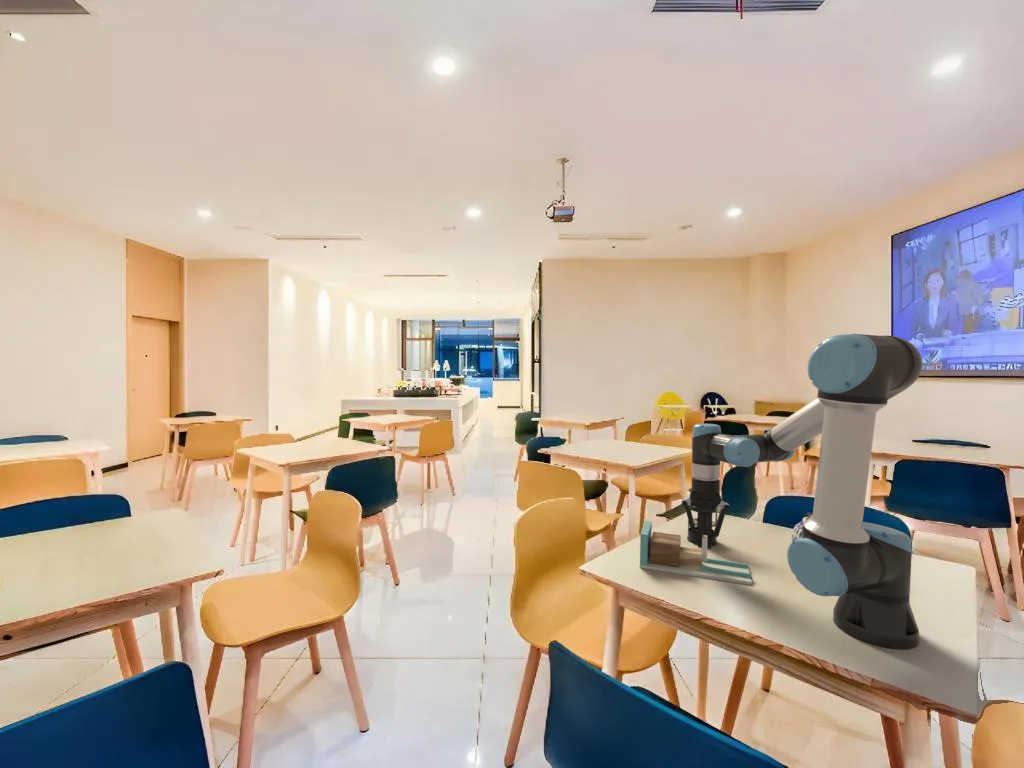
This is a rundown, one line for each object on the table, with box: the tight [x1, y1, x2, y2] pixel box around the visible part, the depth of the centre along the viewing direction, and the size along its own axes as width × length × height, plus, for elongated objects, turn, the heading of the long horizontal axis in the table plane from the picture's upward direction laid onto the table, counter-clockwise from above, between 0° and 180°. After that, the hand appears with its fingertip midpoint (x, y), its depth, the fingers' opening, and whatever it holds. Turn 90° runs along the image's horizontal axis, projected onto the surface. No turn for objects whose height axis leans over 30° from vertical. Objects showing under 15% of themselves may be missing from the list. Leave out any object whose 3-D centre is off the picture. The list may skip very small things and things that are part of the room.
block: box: [650, 531, 682, 567], centre depth 141 cm, size 9×8×6 cm
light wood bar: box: [679, 546, 702, 568], centre depth 139 cm, size 4×12×4 cm, turn 68°
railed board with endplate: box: [639, 520, 753, 586], centre depth 138 cm, size 13×29×10 cm, turn 69°
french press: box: [686, 487, 718, 546], centre depth 159 cm, size 12×9×23 cm
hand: (704, 559), depth 137 cm, fingers closed
